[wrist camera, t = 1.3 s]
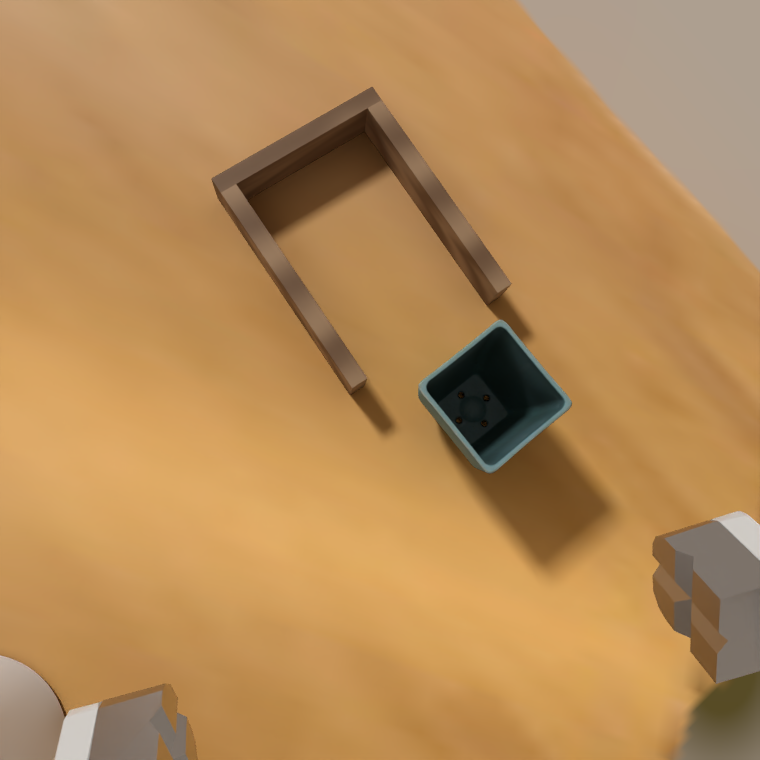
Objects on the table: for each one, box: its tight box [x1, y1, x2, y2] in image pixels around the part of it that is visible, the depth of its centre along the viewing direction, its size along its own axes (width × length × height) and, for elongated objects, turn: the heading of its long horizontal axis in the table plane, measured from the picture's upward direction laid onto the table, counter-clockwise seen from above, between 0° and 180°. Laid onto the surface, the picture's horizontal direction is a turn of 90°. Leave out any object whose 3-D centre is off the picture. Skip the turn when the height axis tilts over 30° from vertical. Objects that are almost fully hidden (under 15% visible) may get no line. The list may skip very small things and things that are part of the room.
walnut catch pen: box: [212, 87, 512, 395], centre depth 62 cm, size 22×16×4 cm
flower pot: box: [418, 320, 572, 473], centre depth 58 cm, size 9×9×9 cm
